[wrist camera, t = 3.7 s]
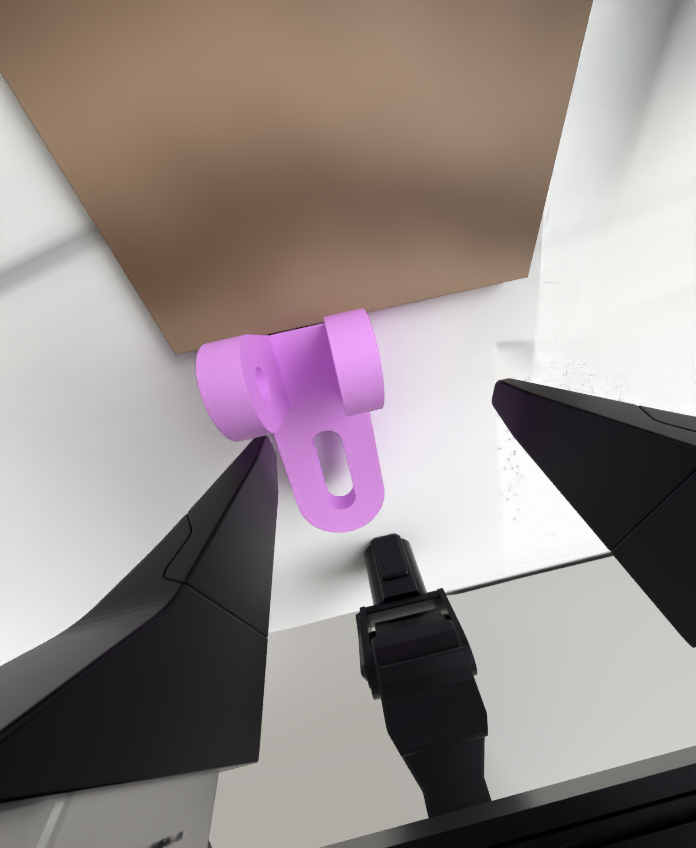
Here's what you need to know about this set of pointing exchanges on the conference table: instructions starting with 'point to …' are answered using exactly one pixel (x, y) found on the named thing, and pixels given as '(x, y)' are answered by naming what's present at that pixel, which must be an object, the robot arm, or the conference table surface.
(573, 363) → the conference table surface
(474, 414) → the conference table surface
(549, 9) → the board
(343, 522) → the bracket
